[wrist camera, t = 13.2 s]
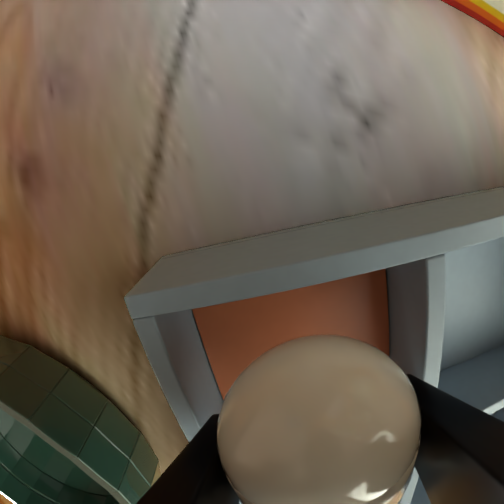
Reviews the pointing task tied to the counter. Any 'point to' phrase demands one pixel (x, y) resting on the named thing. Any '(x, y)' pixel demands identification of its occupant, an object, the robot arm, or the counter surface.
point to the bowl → (65, 436)
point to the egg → (320, 425)
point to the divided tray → (336, 302)
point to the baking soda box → (483, 12)
